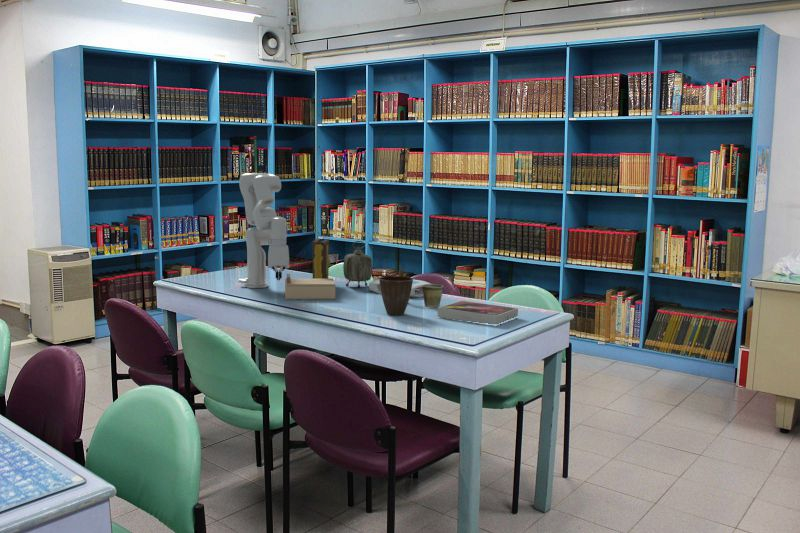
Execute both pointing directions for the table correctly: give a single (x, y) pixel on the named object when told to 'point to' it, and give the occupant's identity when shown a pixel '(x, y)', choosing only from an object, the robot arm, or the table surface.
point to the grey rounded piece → (357, 266)
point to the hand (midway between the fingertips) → (278, 279)
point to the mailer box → (309, 292)
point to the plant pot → (395, 293)
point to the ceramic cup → (432, 295)
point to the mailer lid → (308, 281)
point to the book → (321, 258)
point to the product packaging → (477, 312)
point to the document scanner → (416, 284)
